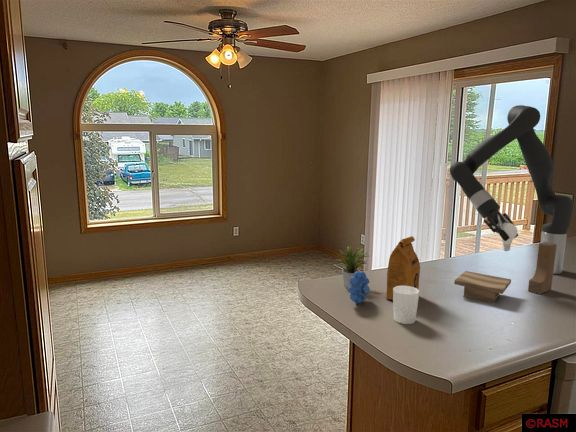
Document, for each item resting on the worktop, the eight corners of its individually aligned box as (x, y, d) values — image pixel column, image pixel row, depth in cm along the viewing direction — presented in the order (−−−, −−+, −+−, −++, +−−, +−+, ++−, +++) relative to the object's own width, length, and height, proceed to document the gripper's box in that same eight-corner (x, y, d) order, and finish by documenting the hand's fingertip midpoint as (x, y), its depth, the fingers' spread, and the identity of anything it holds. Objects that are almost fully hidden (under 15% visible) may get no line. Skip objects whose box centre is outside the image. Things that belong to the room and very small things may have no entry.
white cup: (389, 322, 134) (391, 292, 132) (393, 313, 141) (395, 284, 140) (415, 327, 131) (417, 295, 130) (418, 317, 139) (420, 287, 137)
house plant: (360, 296, 156) (362, 252, 153) (326, 289, 163) (327, 247, 160) (374, 285, 168) (376, 244, 165) (342, 278, 175) (343, 239, 172)
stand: (464, 285, 168) (465, 270, 167) (509, 294, 159) (511, 279, 158) (453, 295, 157) (454, 280, 156) (501, 306, 148) (502, 289, 147)
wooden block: (539, 294, 159) (545, 247, 156) (527, 291, 163) (532, 244, 159) (551, 289, 164) (557, 244, 161) (539, 286, 168) (544, 241, 164)
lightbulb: (493, 249, 169) (496, 221, 167) (509, 248, 169) (511, 221, 167) (502, 253, 162) (505, 224, 160) (518, 253, 163) (521, 224, 161)
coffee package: (423, 296, 157) (427, 237, 153) (407, 306, 147) (411, 243, 143) (398, 289, 163) (401, 233, 159) (381, 298, 154) (384, 239, 150)
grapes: (360, 311, 142) (361, 277, 140) (343, 306, 147) (344, 272, 145) (377, 301, 151) (379, 269, 149) (361, 297, 155) (362, 265, 153)
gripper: (482, 199, 164) (510, 235, 157) (500, 196, 172) (528, 230, 165) (467, 211, 169) (494, 246, 162) (486, 207, 177) (513, 241, 170)
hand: (511, 238), depth 163 cm, fingers closed on lightbulb, 6 cm apart
